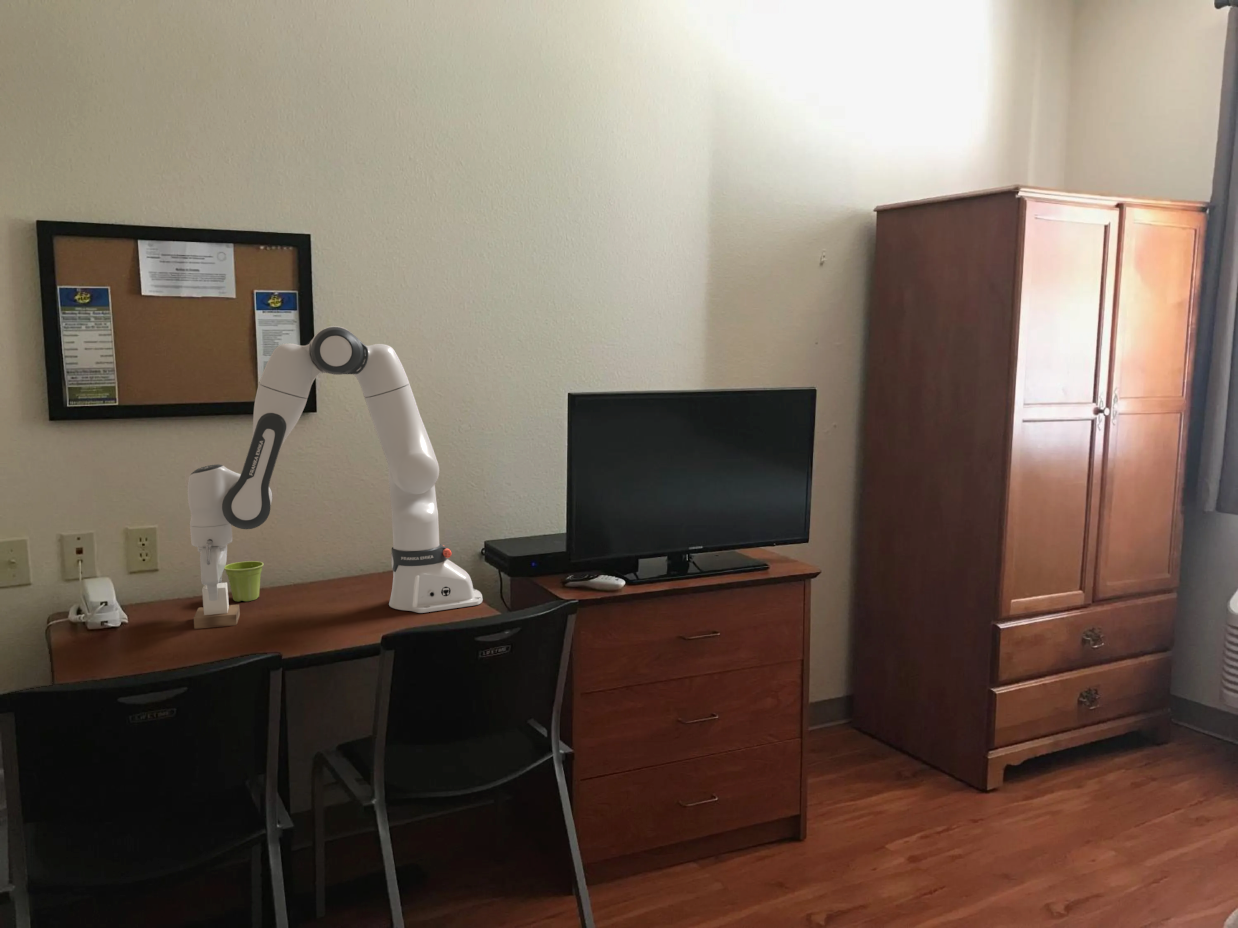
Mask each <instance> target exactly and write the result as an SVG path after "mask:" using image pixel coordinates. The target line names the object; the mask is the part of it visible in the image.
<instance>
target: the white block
mask: <svg viewBox="0 0 1238 928" xmlns="http://www.w3.org/2000/svg"><path fill="white" fill-rule="evenodd" d="M201 589H202V590H201V592H202V606H203V607H204V615H212V614H223V613H228V609H229V605H230V604H229V591H228V582H222V583H218V585H217V590H218V599H217V600H215V601H210V600H209V593H208V589H207V585H203V587H202V588H201Z"/></svg>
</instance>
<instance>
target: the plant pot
mask: <svg viewBox="0 0 1238 928" xmlns="http://www.w3.org/2000/svg"><path fill="white" fill-rule="evenodd" d="M263 567H264V562H262V561H257V560H256V561H255V560H254V561H253V560H252V561H251V560H248V561H240V562H239V561H238V562H231V563H229V564H226V565H225V568H224V570H225V574H226V575H227V578H228V583H229V587H230V590H231V595H232V600H233V601H235V602H238V603H239V602H241V601H243V602H250V601H255V600H257V599H258V598H260V587H261V577H262V576H261V573H262V571H263ZM224 570H223V571H224Z"/></svg>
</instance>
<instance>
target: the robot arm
mask: <svg viewBox="0 0 1238 928" xmlns="http://www.w3.org/2000/svg"><path fill="white" fill-rule="evenodd" d="M321 374H328V375H335V376H336V375H337V376H339V375H353V376H354V377H355V378H356V380H357V382H358V384H359V387H360V388H361V392H362V395H363V397H364V400H365V404H366V407H367V410H368V412H369V415H370V418H371V421H372V424H373V427H374V430H375V433H376V435H377V438H378V441H379V444H380V447H381V448H382V451H383V455H384V457H385V460H386V463H387V478H388V490H389V499H390V500H389V501H390V510H391V511H390V512H391V524H392V525H391V529H392V547H391V552H390V555H391V556H390V559H391V569H392V574H393V576H392V577H393V578H392V587H391V588H392V589H391V594H390V598H389V603H388V605H389V607H390V608H392V609H395V610H399V611H409V612H413V613H418V614H423V613H429V612H430V613H432V612H437V611H445V610H452V609H457V608H466V607H472V606H478V605H480V604H482V603H483V600H484V599H483V594H482V592H481V591H480V590H478V589H475V588H474V586H473V585H474V584H473V581H472V579H471V575H470V574H469V573H468V572H467V571H466V570H465V569H463V568H462V567H460V566H459V565H457V564H456V563H455V562H453V561H451V560H450V559H449V558H451V557H452V554H453V553H452V551H451V549H449V548H448V547H447V546H446V545H444V544H441V543H440V529H439V528H440V526H439V524H440V523H439V511H438V503H437V493H436V483H437V482H438V479H439V477H440V464H439V462H438V460H437V459H438V458H437V456H436V453H435V451H434V447H433V445H432V442H431V439H430V438H429V434H428V432H427V429H426V426H425V423H424V422H423V419H422V416H421V414H420V411H419V407H418V404H417V401H416V399H415V395H414V393H413V389H412V387H411V384H410V381H409V378H408V375H407V373H406V371H405V368H404V365H403V363H402V362H401V360H400V358H399V356H398V354H397V353H396V351H395V349H394V348H393V347H392V346H390V345H388V344H385V343H374V344H370V345H366V344H364V342H362V341H361V340H360V339H359V338H358V337H357V336H356V335H355V334H354V333H353V332H351V331H350V330H349V329H347V328H345V327H342V326H338V325H331V326H330V325H329V326H326V327H324V328H321V329H320V330H319V331H318V332H317V333H316V334H315V335H314V336H313V338H312V339H310V341H308V342H307V343H306V344H305V345H300V344H296V343H290V342H289V343H282V344H280V345H277V346H276V347H275V348H274V350H273V351H272V353H271V355H270V356H269V358H268V361H267V362H266V364H265V367H264V370H263V372H262V375H261V377H260V380H259V384H258V386H257V390H256V394H255V399H254V405H253V416H252V417H253V418H252V420H253V421H252V436H251V441H250V442H251V443H250V445H249V448H248V452H247V453H246V454H247V455H246V458H245V460H244V464H243V467H242V470H241V473H239V472H236V471H233V470H231V469H229V468H227V467H226V466H225V465H224V464H219V463H218V464H211V465H206V466H201V467H199V468H196V469H195V470H194V471H192V472H191V473H190V475H189V476H188V483H187V502H188V503H187V504H188V509H189V511H190V521H189V529H190V530H189V531H190V542H191V543H190V544H191V546H192V547H195V548H197V552H198V553H200V554H199V561H200V562H199V564H200V581H201V585H203V586H204V585H207V589H208V593H209V600H210V601H215V600H217V599H218V590H217V585H218V583H223V582H222V581H223V572H224V568H225V566H226V565H227V559H228V557H227V556H228V545H229V544H232V542H233V528H232V526H233V527H235V528H237V529H240V530H252V529H255V528H258V527H260V526H261V525H263V524H264V523H265V522H266V521H267V519H268V517H269V516H270V513H271V507H272V504H273V503H272V501H273V491H272V488H271V486H270V484H271V483H270V482H271V479H272V476H273V473H274V469H275V467H276V463H277V461H278V457H279V454H280V451H281V449H282V446H283V445H284V443H285V442H286V440H287V438H288V437H289V435H290V434H291V433H292V431H293V430H294V428H295V427H296V425H297V424H298V422H299V420H300V417H301V416H302V414H303V411H304V409H305V407H306V404H307V401H308V398H309V395H310V392H311V390H312V389H311V388H312V385H313V383H314V381H315V379H316V378H317V377H318V376H319V375H321Z"/></svg>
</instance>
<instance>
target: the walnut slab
mask: <svg viewBox="0 0 1238 928" xmlns="http://www.w3.org/2000/svg"><path fill="white" fill-rule="evenodd" d="M240 611H241V610H240V604H239V603H238V604H229V609H228V613H223V614H212V615H204V607H198V608H197V610H196V612H195V614H194V616H193V629H194V630H197V629H207V628H219V627H229V626H237V624H238V623H239V619H240V615H241V613H240Z"/></svg>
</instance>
